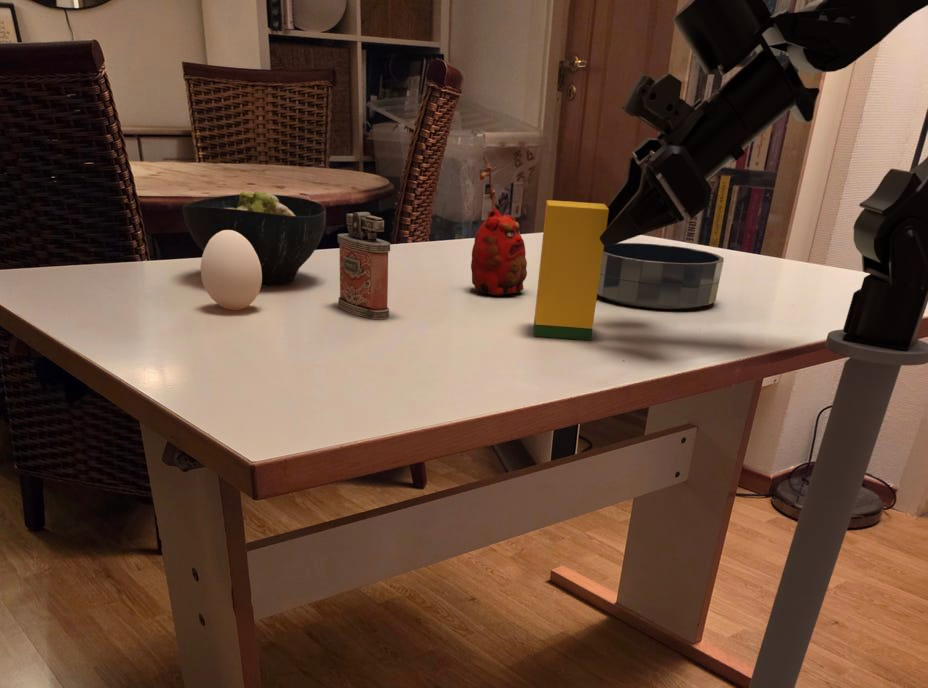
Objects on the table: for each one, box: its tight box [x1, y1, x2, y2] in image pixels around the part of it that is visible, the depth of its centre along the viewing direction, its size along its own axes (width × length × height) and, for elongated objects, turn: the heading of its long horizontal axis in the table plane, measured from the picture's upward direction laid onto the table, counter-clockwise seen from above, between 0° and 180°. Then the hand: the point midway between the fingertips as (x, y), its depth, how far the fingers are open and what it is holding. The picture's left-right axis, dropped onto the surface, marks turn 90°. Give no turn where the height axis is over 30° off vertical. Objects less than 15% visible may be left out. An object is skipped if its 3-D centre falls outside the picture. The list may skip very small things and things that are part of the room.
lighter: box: [337, 211, 391, 320], centre depth 94 cm, size 8×3×10 cm, turn 37°
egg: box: [200, 230, 262, 311], centre depth 92 cm, size 6×6×8 cm
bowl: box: [181, 191, 327, 287], centre depth 106 cm, size 17×17×10 cm
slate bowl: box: [597, 242, 725, 311], centre depth 111 cm, size 16×16×6 cm
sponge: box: [533, 199, 609, 341], centre depth 90 cm, size 6×5×12 cm
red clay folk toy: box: [470, 156, 528, 297], centre depth 107 cm, size 8×7×15 cm
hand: (598, 236), depth 88 cm, fingers open, 9 cm apart
